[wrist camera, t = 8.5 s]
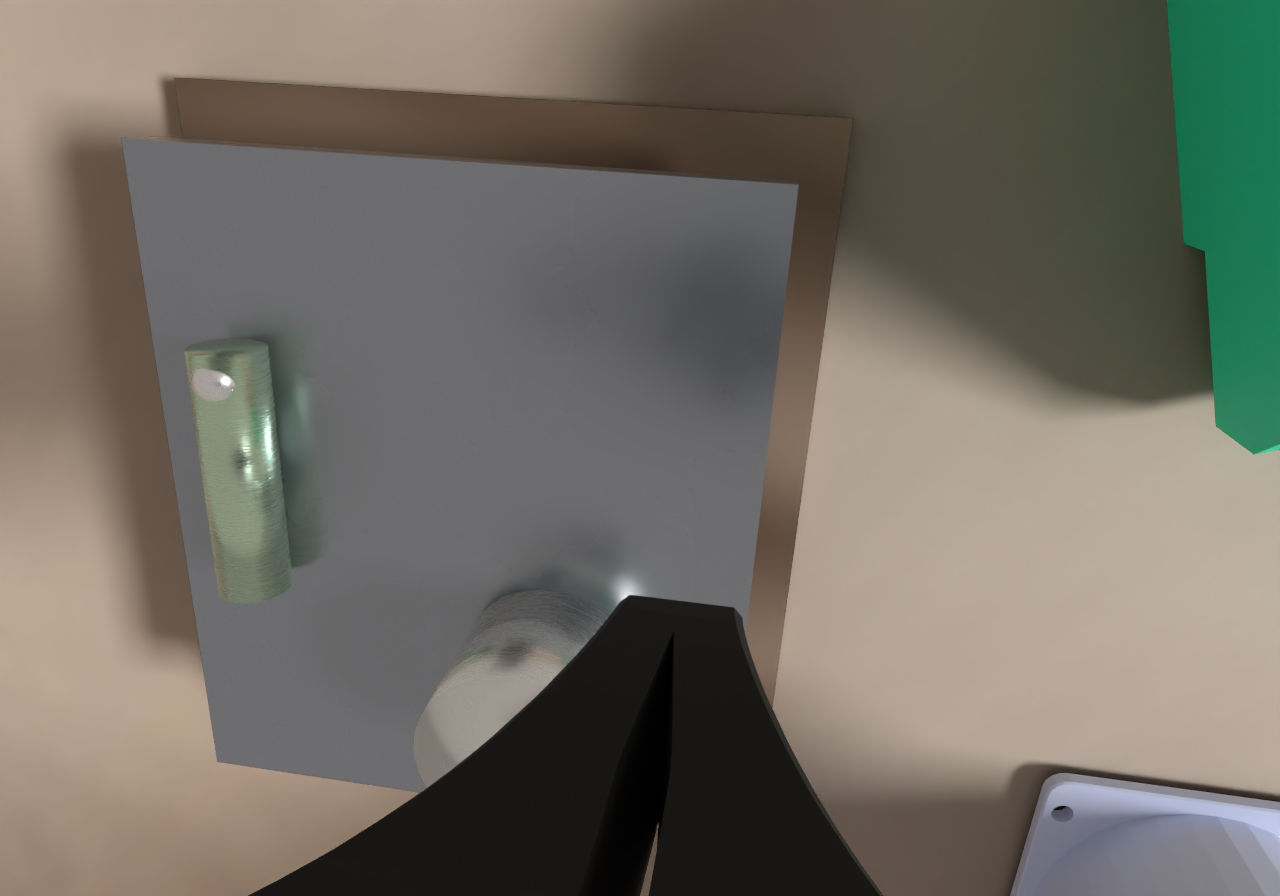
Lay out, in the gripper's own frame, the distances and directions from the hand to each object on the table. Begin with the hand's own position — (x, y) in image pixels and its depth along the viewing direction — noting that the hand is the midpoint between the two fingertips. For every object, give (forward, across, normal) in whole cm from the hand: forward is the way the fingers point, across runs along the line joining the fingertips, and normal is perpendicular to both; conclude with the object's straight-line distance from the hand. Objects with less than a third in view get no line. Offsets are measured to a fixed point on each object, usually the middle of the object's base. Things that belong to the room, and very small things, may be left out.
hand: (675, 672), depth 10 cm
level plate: (+7, +5, +2) cm, 9 cm away
